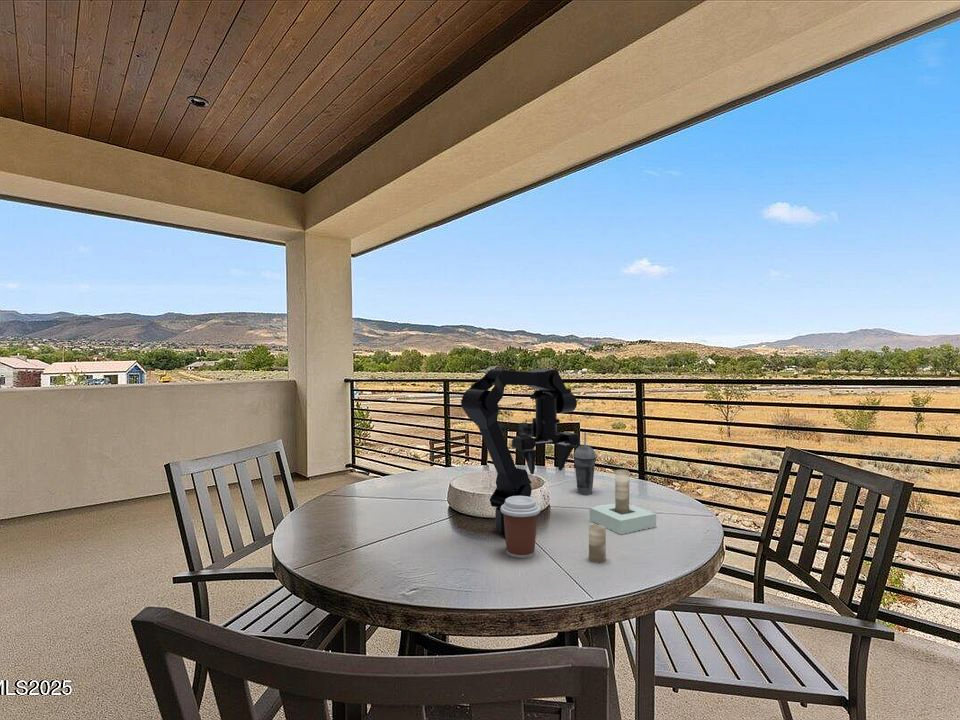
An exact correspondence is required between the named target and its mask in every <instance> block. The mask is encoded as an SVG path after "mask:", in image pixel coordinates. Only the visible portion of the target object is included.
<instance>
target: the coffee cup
mask: <svg viewBox="0 0 960 720" xmlns="http://www.w3.org/2000/svg"><path fill="white" fill-rule="evenodd" d="M500 511H501V512H502V513H503V515H504V527H505V538H504V539H505V549H506V554H507V555H508V556H509V557H511V558H517V559H528V558H532V557H533V556H534V555H535V553H536V551H535V550H536V538H537V537H536V536H537V535H536V534H537V525H538V524H537V523H538V515H539V514H541V506H540V505H538V503H537V500H536V498H534V497H532V496H531V497H528V496H512V497H508V498H506V499H505V503H504V504H503V505H502V506H501V508H500Z"/></svg>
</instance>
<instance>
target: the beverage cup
mask: <svg viewBox="0 0 960 720" xmlns="http://www.w3.org/2000/svg"><path fill="white" fill-rule="evenodd" d="M583 435H584V437H583V439H584V441H583V445H582V444H581V445H579V446H578V447H577V448H575V451H574V454H573V462H574V467H575V478H576V487H577V488H576V489H577V494H578V493H579V495H581V494H582V495H583V496H590V495H589V494H591V495H592V494H593V487H594V474H595V465H596V461H597V454H596V452H595V450H594V449H593V448H592V447H591V446H590V445H588V444H587V433H586V431H584V434H583ZM582 495H581V496H582Z"/></svg>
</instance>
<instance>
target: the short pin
mask: <svg viewBox="0 0 960 720" xmlns="http://www.w3.org/2000/svg"><path fill="white" fill-rule="evenodd" d="M606 529H607V528H605V527H604V526H601V525H598V524H591V525H589V526H588V560H589V561H590V562H592V563H596V562H598V563H597V564H600V563H601V562H602V563H605V562H606V561H607V559H606V558H607V555H606V553H607V550H606V549H607V547H606V546H607V545H606V542H607V537H606V535H607V530H606ZM602 563H601V564H602Z"/></svg>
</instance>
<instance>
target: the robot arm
mask: <svg viewBox="0 0 960 720" xmlns="http://www.w3.org/2000/svg"><path fill="white" fill-rule="evenodd" d="M507 386H526V387H528V388H530V389H534V392H533V393H532V394H531V395H530V397H529V398H530V399H531V400H535V417H533V418H532V420H531V424H529V423H528V422H523V421H522V422H520V423H518V432H519V433H518V434H519V435H518V436H514V437H513V438H512V440H511V447H512V448H514V449H516V450H517V451H520V453H522V455H523V458H524V459H525V461H526V466H527V467H528V471H529V473H530V474H531V475H534V473H535V468H536V457H537V450H536V449H534V448H535V447H536V446H540V445H548V444H555V446H556V449H557V468H558V471H561V472H562V470H563V469H564V467H565V465H566V463H567V461H568V458H569V457H570V455H571V453H572V452H573V450H574V449H577V448H576V447H577V446H576V445H580V443H581V442H580V436H579V434H578V433H575V432H571V431H570V432H569V431H564V432H561V431H560V432H558V430H557V429H558V428H557V427H558V425H557V424H560V421H561V420H560V419H559V418H557V415H558V414H565V413H571V412H573V411H575V410H576V408H577V406H578V400H577V397H576V396H575V395H574V393H572V389H571V388H569V387H568V388H567V387H566V385H565V382H564V380H563V379H562V376H561V375H560V374H559V371H558V370H557V369H555V368H553V369H552V368H547V369H546V368H535V369H530V370H529V371H521V370H507V369H503V368H492V369H488V371H487V372H486V373H485V375H484V376H482V377H481V378H480V379H478V380H476V381H475V382H474V383H473V384H471V386H470V387H469V388H468V389H467V390H465V391H464V392H463V394H462V397H461V399H460V404H461V407H462V409H463V411H464V412H465V414H466V416H467V417H468V418H469V420H471V422H473V423H474V424H475V425H476V426H477V427H478V430H479V431H480V434H481V436H482V439H483V442H484V444H485V447H486V450H487V451H488V454H489V456H490V459H491V461H492V463H493V466H494V468H495V471H496V479H495V486H496V488H495V489H494V491H493V493H492V494H491V496H490V497H489V503H490V506H491V507H492V508H493V507H494V508H495V527H494V528H492V531H493V532H494V533H496V534H497V535H499V536H500V537H502V538H503V539H505V527H504V515H503V513H502V512H501V511H500V508H501V506H502V505H503V504H504V503H505V499H506V498H508V497H512V496H528V497H531V498H532V496H531V495H532V490H533V489H532V485H531V484H532V483H533V482H532V480H530V478H529V473H528V472H527V470H526V469H523V468H518V467H517V466H516V463H515V461H514V459H513V456H512V454H511V451H510V449H509V445H508V443H507V442H506V439H505V436H504V433H503V431H502V429H501V426H500V424H499V421H498V420H499V419H498V417H499V411H500V407H499V403H500V401H501V400H502V399H503V397H504V392H505V388H506V387H507ZM489 389H491V390H489Z"/></svg>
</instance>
